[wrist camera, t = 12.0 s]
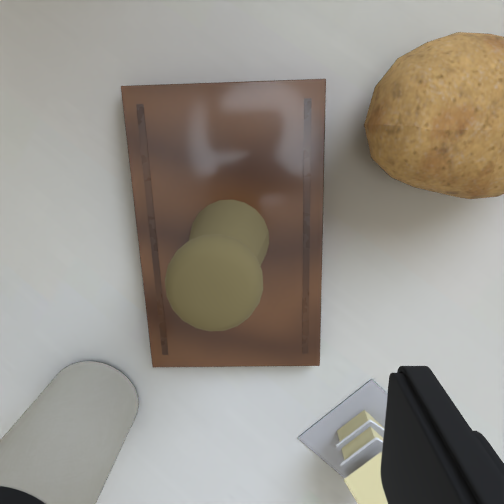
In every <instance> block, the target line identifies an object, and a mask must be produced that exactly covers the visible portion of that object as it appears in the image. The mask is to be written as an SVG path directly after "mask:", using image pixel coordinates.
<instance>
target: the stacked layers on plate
mask: <svg viewBox="0 0 504 504" xmlns="http://www.w3.org/2000/svg"><path fill="white" fill-rule="evenodd" d="M387 396H388V394H387V393H386V392H385V391H384V390H383V389H382V388H381V387H380V386H379V385H377V384H376V383H375V382H374V381H373V380H370V381H369V382H368V383H366V384H365V385H364V386H363V387H361V388H360V389H359V390H358V391H356V392H355V393H354V394H353V395H351V396H350V397H349V398H347V399H346V400H345V401H344V402H342V403H341V404H340V405H339V406H337V407H336V408H335V409H334V410H332V411H331V412H330V413H329V414H327V415H326V416H325V417H323V418H322V419H321V420H320V421H318V422H317V423H316V424H315V425H313V426H312V427H311V428H310V429H308V430H307V431H306V432H305V433H303V434H302V435H301V436H299V437H298V439H299V440H300V441H302V442H303V443H304V444H305V445H306V446H307V447H309V448H310V449H311V450H312V451H313V452H314V453H316V454H317V455H318V456H319V457H320V458H321V459H323V460H324V461H325V462H326V463H327V464H328V465H330V466H331V467H332V468H333V469H334V470H335V471H336V472H338V473H339V474H340V475H341V476H342V477H343V478H345V479H344V481H345V483H346V485H347V486H348V488H349V490H350V491H351V493H352V495H353V496H354V498H355V500H356V501H357V503H358V504H388V502H387V499H386V496H385V493H384V490H383V486H382V482H381V472H380V470H381V458H382V448H383V437H384V427H385V417H386V406H387Z"/></svg>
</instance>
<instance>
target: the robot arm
mask: <svg viewBox="0 0 504 504" xmlns="http://www.w3.org/2000/svg"><path fill="white" fill-rule="evenodd" d="M380 472H381V482H382V486H383V490H384V493H385V496H386V499H387V502H388V504H504V463H503V462H502V461H501V459H500V458H499V456H498V455H497V454H496V452H495V451H494V449H493V448H492V446H491V445H490V444H489V442H488V441H487V440H486V438H485V437H484V436H483V435H482V434H481V433H479V432H477V431H472V429H471V428H470V427H469V425H468V424H467V422H466V421H465V419H464V418H463V416H462V415H461V413H460V412H459V410H458V409H457V408H456V406H455V405H454V403H453V402H452V400H451V399H450V397H449V396H448V394H447V393H446V391H445V390H444V389H443V387H442V386H441V384H440V383H439V381H438V380H437V378H436V377H435V375H434V374H433V372H432V371H431V370H430V368H429V367H427V366H400V367H399V369H398V372H397V373H391V374H390V377H389V385H388V396H387V406H386V417H385V427H384V437H383V448H382V458H381V470H380Z"/></svg>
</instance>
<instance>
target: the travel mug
mask: <svg viewBox="0 0 504 504" xmlns="http://www.w3.org/2000/svg"><path fill="white" fill-rule="evenodd" d="M137 411H138V397H137V393H136V390H135V388H134V386H133V385H132V383H131V382H130V380H129V379H128V378H127V377H126V376H125V375H124V374H123V373H121V372H120V371H119V370H117V369H115V368H114V367H112V366H109V365H107V364H104V363H100V362H94V361H83V362H77V363H74V364H71V365H69V366H67V367H66V368H64V369H63V370H61V371H60V372H59V373H58V375H57V376H56V377H55V378H54V379H53V380H52V381H51V383H50V384H49V385H48V386H47V387H46V388H45V389H44V391H43V392H42V393H41V394H40V395H39V396H38V398H37V399H36V400H35V401H34V402H33V403H32V404H31V406H30V407H29V408H28V409H27V410H26V411H25V413H24V414H23V415H22V416H21V417H20V418H19V419H18V421H17V422H16V423H15V424H14V425H13V426H12V428H11V429H10V430H9V431H8V432H7V433H6V434H5V436H4V437H3V438H2V439H1V440H0V504H96V502H97V500H98V498H99V495H100V493H101V491H102V489H103V487H104V484H105V482H106V480H107V478H108V476H109V474H110V471H111V469H112V467H113V465H114V463H115V461H116V458H117V456H118V454H119V452H120V450H121V447H122V445H123V443H124V441H125V439H126V437H127V434H128V432H129V430H130V428H131V426H132V424H133V421H134V419H135V417H136V414H137Z"/></svg>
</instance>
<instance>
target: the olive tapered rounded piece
mask: <svg viewBox="0 0 504 504" xmlns="http://www.w3.org/2000/svg"><path fill="white" fill-rule="evenodd" d="M268 246H269V231H268V228H267V225H266V223H265V220H264V219H263V217H262V216H261V215H260V214H259V213H258V211H257V210H256V209H254V208H253V207H251V206H250V205H248V204H246V203H244V202H240V201H237V200H219V201H217V202H214V203H212V204H209V205H208V206H206V207H205V208H204V209H203V210H202V211H200V212H199V213H198V215H197V217H196V218H195V220H194V222H193V223H192V228H191V232H190V237H189V241H188V242H187V243H185V244H184V245H183V246H182V247H181V248H179V249H178V250H177V251H176V253H175V254H174V256H173V258H172V259H171V261H170V263H169V264H168V267H167V272H166V277H165V288H166V296H167V299H168V301H169V303H170V305H171V307H172V309H173V311H174V312H175V313H176V314H177V315H178V316H179V317H180V318H181V319H182V320H183V321H184V322H186V323H188V324H190V325H191V326H193V327H195V328H198V329H202V330H206V331H225V330H228V329H231V328H234V327H237V326H239V325H240V324H241V323H243V322H244V321H245V320H247V319H248V318H249V317H250V316H251V314H252V313H253V311H254V310H255V309H256V307H257V306H258V304H259V303H260V299H261V296H262V292H263V274H262V269H261V267H260V266H261V264H262V262H263V260H264V258H265V256H266V253H267V250H268Z"/></svg>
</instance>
